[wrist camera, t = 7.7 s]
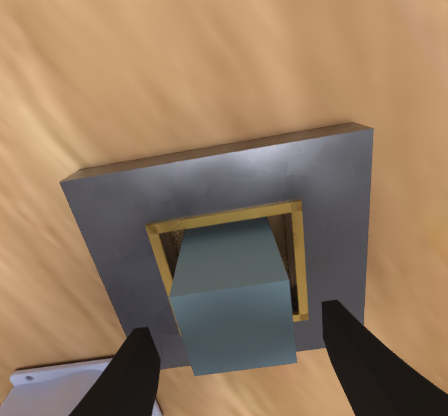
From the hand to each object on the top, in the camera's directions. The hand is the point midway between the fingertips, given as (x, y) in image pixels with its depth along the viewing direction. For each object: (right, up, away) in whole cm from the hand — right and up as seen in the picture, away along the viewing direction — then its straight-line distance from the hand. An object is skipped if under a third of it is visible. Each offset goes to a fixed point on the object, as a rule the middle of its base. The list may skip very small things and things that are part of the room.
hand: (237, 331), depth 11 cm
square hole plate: (0, +2, +5) cm, 6 cm away
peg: (0, +3, +5) cm, 6 cm away
